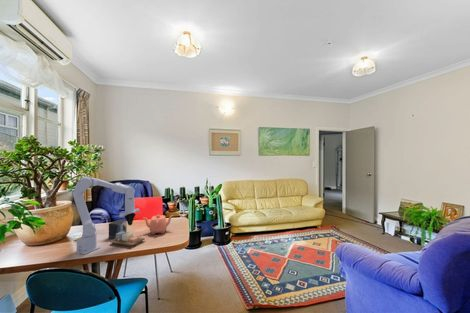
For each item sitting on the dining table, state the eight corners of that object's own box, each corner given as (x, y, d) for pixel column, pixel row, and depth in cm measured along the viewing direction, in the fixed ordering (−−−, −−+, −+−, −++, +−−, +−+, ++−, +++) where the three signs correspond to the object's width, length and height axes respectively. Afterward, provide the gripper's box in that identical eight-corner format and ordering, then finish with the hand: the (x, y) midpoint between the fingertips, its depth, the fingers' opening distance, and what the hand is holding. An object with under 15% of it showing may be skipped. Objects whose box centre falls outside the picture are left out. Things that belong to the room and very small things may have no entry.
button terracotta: (133, 245, 131) (133, 239, 131) (128, 244, 132) (128, 238, 132) (139, 242, 135) (139, 237, 135) (134, 241, 136) (134, 236, 136)
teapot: (142, 233, 152) (142, 216, 152) (161, 227, 166) (161, 211, 166) (155, 237, 144) (155, 219, 144) (174, 230, 158) (174, 213, 158)
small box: (116, 239, 142) (116, 224, 142) (108, 238, 144) (107, 223, 144) (127, 233, 153) (127, 219, 153) (119, 233, 154) (119, 219, 154)
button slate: (120, 239, 135) (120, 234, 135) (115, 239, 136) (115, 233, 136) (126, 237, 139) (126, 232, 139) (121, 236, 140) (121, 231, 140)
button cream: (127, 241, 133) (127, 235, 133) (122, 240, 134) (121, 234, 134) (132, 238, 137) (132, 233, 137) (127, 237, 138) (127, 232, 138)
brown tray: (130, 248, 127) (130, 244, 127) (109, 244, 134) (109, 241, 134) (144, 241, 137) (144, 238, 137) (124, 238, 144) (124, 234, 144)
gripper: (125, 207, 132) (125, 229, 132) (142, 202, 145) (143, 222, 145) (116, 206, 134) (117, 227, 134) (135, 202, 148) (135, 221, 148)
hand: (130, 224), depth 140 cm, fingers closed
